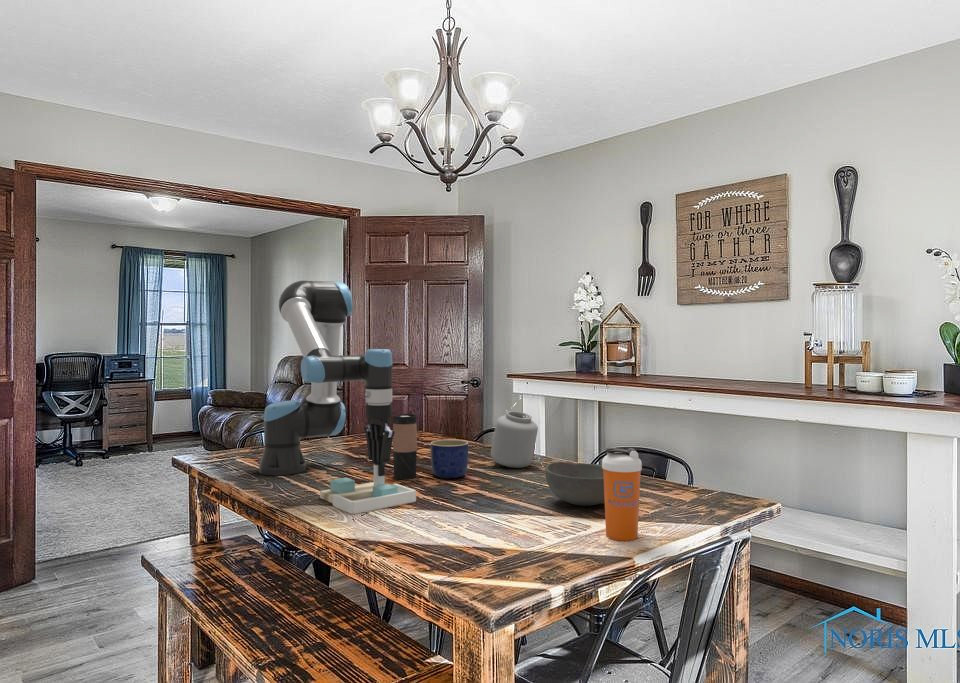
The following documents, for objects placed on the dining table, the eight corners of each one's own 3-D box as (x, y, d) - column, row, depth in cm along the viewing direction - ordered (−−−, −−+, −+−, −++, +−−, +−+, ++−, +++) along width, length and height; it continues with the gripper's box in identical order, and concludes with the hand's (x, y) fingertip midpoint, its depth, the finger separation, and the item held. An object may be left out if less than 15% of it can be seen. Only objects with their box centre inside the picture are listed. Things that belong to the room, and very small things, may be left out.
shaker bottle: (597, 530, 151) (597, 446, 150) (634, 529, 151) (634, 445, 151) (608, 543, 142) (608, 453, 142) (647, 541, 143) (647, 452, 142)
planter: (423, 478, 205) (423, 444, 205) (440, 470, 217) (440, 438, 217) (459, 481, 201) (459, 446, 201) (474, 473, 212) (474, 440, 212)
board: (320, 497, 181) (320, 490, 181) (375, 488, 192) (375, 481, 192) (336, 505, 173) (336, 497, 173) (393, 494, 185) (393, 487, 185)
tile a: (372, 497, 179) (372, 486, 179) (388, 494, 182) (388, 484, 182) (382, 501, 175) (382, 490, 175) (397, 498, 178) (397, 487, 178)
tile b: (330, 490, 181) (330, 479, 181) (346, 487, 185) (346, 477, 184) (338, 493, 177) (338, 483, 177) (354, 491, 181) (354, 480, 181)
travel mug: (412, 480, 203) (412, 417, 203) (389, 478, 204) (389, 416, 204) (419, 474, 210) (419, 414, 210) (397, 473, 212) (397, 413, 212)
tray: (332, 505, 173) (332, 494, 173) (396, 493, 186) (395, 483, 185) (352, 514, 164) (352, 502, 164) (417, 501, 177) (417, 490, 177)
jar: (550, 466, 224) (550, 394, 223) (526, 473, 212) (526, 398, 212) (506, 459, 235) (506, 391, 235) (482, 466, 224) (482, 394, 224)
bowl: (574, 519, 160) (574, 479, 160) (531, 500, 178) (531, 464, 178) (636, 508, 170) (636, 471, 170) (589, 491, 188) (589, 457, 188)
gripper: (355, 402, 183) (356, 484, 184) (379, 406, 173) (379, 493, 174) (378, 400, 188) (378, 480, 189) (402, 404, 178) (402, 489, 179)
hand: (379, 486), depth 181 cm, fingers closed
